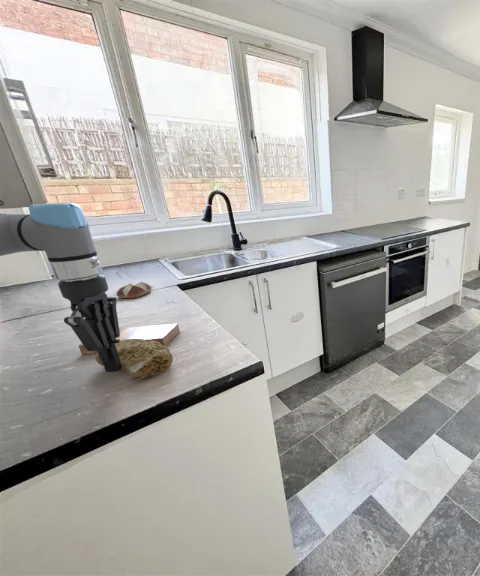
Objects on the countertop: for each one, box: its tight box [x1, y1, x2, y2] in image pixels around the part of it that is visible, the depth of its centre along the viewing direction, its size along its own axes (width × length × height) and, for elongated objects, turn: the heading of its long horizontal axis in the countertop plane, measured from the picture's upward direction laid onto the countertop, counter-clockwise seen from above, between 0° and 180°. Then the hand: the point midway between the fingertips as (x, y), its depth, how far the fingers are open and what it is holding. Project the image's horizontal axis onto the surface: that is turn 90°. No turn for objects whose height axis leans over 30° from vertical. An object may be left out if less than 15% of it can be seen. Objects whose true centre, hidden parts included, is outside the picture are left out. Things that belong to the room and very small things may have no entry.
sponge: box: [95, 339, 174, 379], centre depth 81 cm, size 13×8×20 cm
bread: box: [116, 281, 152, 299], centre depth 135 cm, size 11×11×5 cm
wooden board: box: [77, 323, 181, 355], centre depth 95 cm, size 22×10×3 cm, turn 100°
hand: (114, 370), depth 74 cm, fingers closed
